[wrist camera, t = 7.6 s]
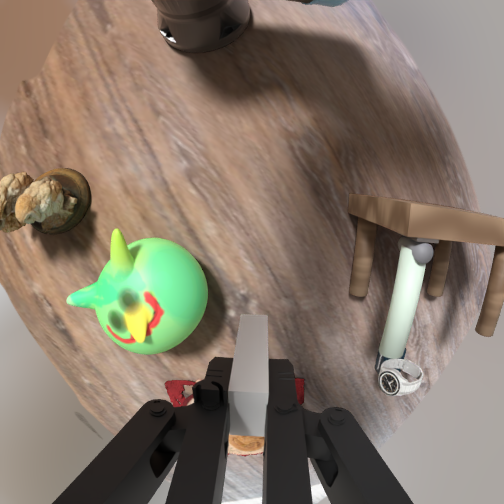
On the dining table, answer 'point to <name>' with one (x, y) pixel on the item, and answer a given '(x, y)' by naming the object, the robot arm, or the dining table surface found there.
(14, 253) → the dining table surface
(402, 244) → the hinged leg
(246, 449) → the plate with food
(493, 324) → the stool
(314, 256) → the dining table surface
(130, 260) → the toy bird
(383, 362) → the watch
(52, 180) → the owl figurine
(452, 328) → the dining table surface
